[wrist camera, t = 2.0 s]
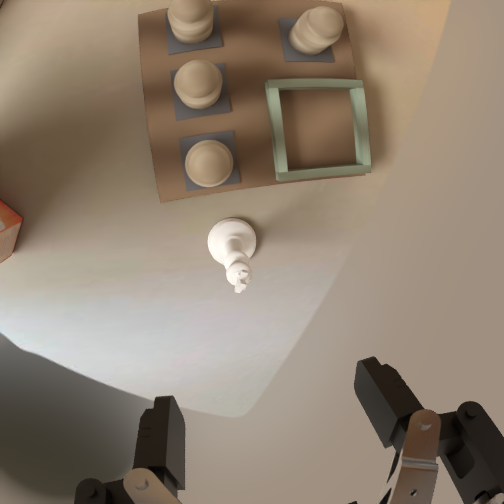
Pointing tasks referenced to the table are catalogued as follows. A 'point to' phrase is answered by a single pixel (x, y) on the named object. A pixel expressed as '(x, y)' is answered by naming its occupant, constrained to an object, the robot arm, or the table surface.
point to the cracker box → (8, 230)
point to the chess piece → (233, 249)
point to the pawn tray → (250, 95)
